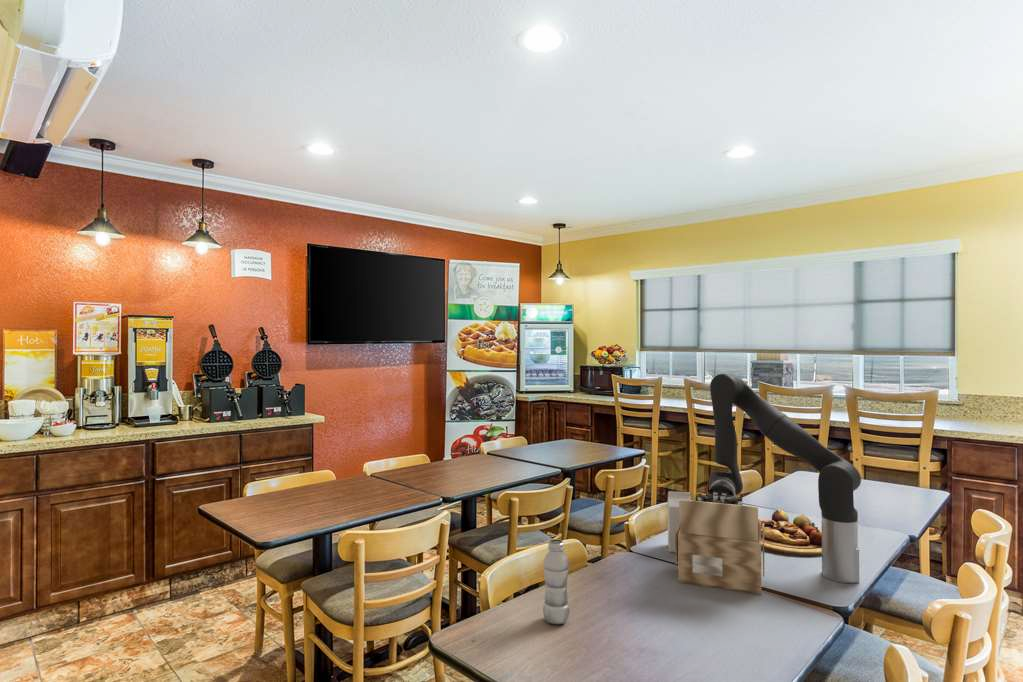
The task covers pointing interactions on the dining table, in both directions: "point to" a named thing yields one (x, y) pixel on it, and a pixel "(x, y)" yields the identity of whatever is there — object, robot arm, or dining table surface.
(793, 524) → the wooden plate with food
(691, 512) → the front flap
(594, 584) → the dining table surface
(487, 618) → the dining table surface
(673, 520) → the milk carton
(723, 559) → the light wooden open box
